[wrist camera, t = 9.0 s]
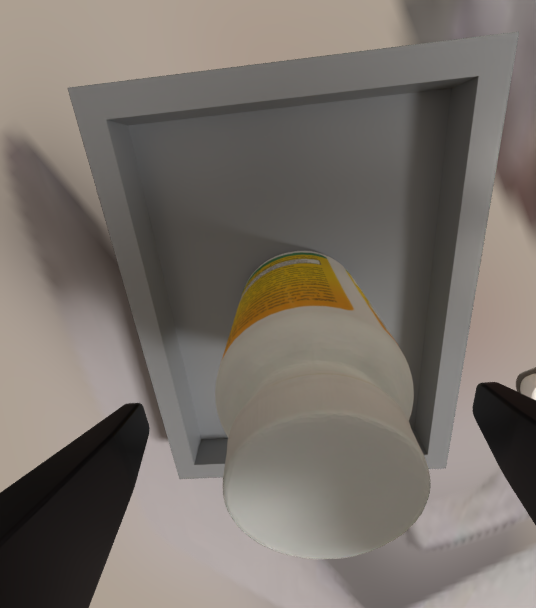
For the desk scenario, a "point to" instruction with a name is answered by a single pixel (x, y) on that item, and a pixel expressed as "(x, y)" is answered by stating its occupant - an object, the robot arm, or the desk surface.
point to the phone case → (527, 383)
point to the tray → (301, 207)
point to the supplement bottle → (317, 415)
